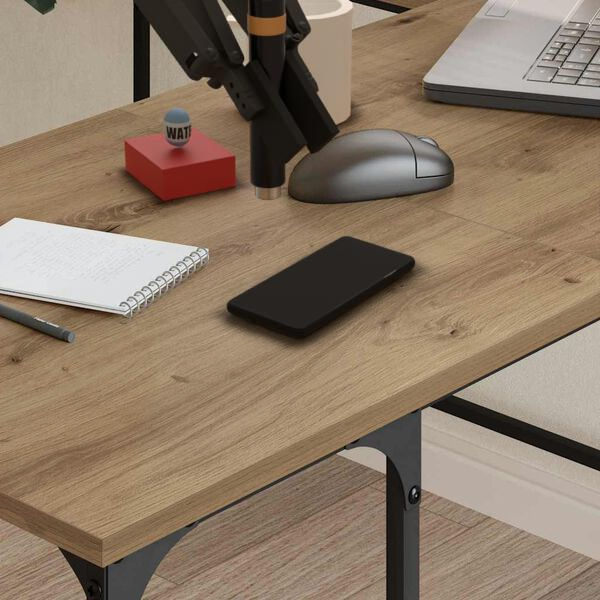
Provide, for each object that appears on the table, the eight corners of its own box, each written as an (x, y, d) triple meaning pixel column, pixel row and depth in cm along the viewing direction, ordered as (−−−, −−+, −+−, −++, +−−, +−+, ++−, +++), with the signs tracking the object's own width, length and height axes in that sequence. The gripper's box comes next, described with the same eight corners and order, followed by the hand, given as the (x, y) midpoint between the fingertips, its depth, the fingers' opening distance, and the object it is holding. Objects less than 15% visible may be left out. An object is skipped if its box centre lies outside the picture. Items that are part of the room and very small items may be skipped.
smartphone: (419, 257, 107) (300, 331, 96) (418, 267, 107) (300, 342, 96) (344, 233, 110) (222, 302, 100) (344, 243, 111) (222, 313, 100)
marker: (263, 205, 96) (261, 1, 89) (242, 193, 97) (239, -7, 91) (293, 197, 97) (293, -5, 91) (272, 185, 99) (271, -13, 92)
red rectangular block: (235, 186, 122) (234, 116, 119) (163, 200, 119) (160, 129, 116) (195, 156, 128) (193, 89, 125) (125, 169, 125) (122, 101, 122)
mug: (202, 123, 136) (199, 14, 131) (227, 90, 145) (225, -14, 140) (341, 133, 134) (343, 22, 129) (358, 98, 142) (361, -6, 138)
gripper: (193, -125, 103) (357, 146, 101) (19, -94, 93) (196, 208, 91) (242, -194, 98) (417, 92, 95) (62, -168, 88) (252, 151, 85)
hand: (309, 148), depth 93 cm, fingers closed on marker, 2 cm apart
